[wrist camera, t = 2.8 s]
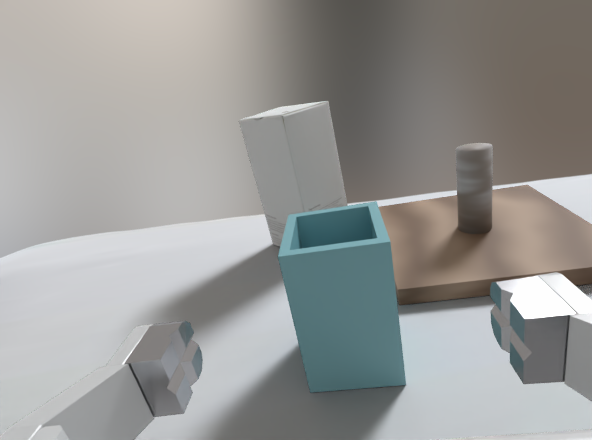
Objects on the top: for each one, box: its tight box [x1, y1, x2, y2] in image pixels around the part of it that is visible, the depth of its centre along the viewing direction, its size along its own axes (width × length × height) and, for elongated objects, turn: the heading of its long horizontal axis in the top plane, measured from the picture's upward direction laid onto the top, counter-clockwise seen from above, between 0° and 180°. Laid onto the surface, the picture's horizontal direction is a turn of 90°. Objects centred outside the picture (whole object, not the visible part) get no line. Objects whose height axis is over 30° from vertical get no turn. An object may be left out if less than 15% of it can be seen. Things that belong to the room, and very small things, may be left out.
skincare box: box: [239, 101, 347, 247], centre depth 41 cm, size 8×7×16 cm
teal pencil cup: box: [278, 202, 406, 393], centre depth 24 cm, size 6×6×10 cm
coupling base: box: [378, 143, 592, 305], centre depth 35 cm, size 18×18×10 cm
